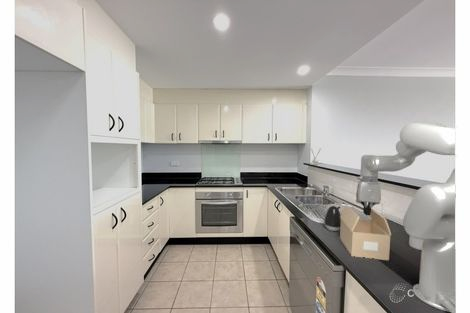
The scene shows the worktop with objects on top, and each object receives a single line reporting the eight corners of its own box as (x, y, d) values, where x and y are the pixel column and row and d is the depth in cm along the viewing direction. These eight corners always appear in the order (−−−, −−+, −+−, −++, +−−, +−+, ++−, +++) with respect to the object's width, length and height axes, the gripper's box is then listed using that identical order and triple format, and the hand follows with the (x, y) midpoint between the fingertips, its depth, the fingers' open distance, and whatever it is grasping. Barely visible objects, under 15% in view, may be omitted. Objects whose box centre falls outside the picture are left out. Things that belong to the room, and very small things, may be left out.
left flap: (340, 217, 120) (339, 217, 120) (346, 205, 119) (345, 204, 119) (352, 231, 101) (351, 231, 101) (359, 217, 100) (358, 216, 100)
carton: (388, 260, 98) (390, 236, 97) (351, 256, 101) (352, 232, 101) (370, 241, 118) (371, 220, 117) (339, 238, 121) (340, 218, 120)
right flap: (390, 235, 98) (391, 235, 97) (384, 219, 98) (385, 218, 98) (372, 220, 117) (373, 220, 117) (367, 206, 117) (368, 206, 117)
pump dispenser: (345, 231, 130) (346, 207, 129) (333, 234, 126) (334, 209, 125) (332, 225, 140) (333, 203, 139) (320, 227, 136) (321, 204, 135)
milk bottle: (421, 251, 106) (424, 213, 105) (405, 244, 114) (407, 208, 113) (432, 250, 109) (434, 212, 107) (415, 243, 116) (418, 207, 115)
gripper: (355, 179, 105) (353, 215, 106) (389, 181, 102) (386, 218, 103) (350, 177, 112) (348, 211, 113) (381, 178, 109) (379, 213, 110)
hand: (366, 214), depth 108 cm, fingers closed
